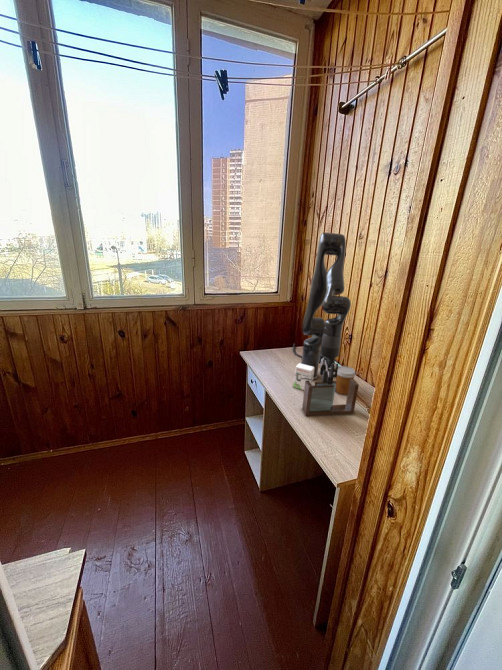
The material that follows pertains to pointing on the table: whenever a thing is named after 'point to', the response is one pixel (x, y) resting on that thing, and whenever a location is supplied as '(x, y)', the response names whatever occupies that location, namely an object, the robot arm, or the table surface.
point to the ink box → (303, 375)
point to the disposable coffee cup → (344, 379)
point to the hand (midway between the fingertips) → (325, 379)
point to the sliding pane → (324, 382)
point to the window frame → (327, 399)
